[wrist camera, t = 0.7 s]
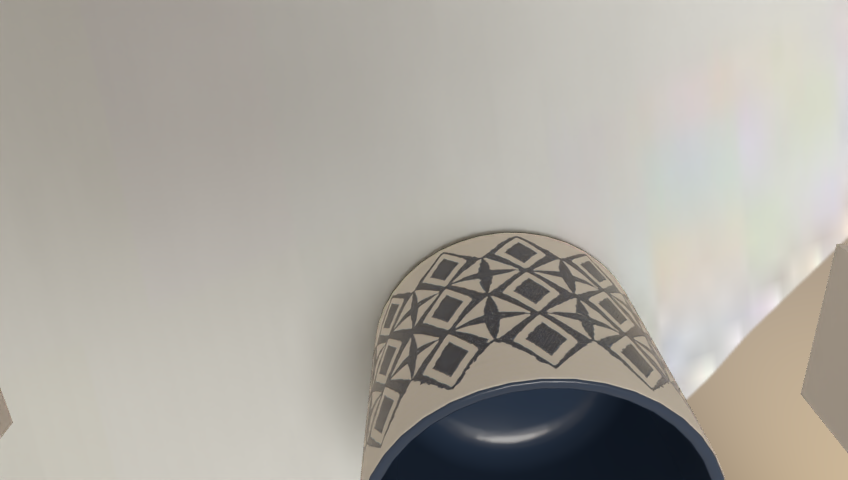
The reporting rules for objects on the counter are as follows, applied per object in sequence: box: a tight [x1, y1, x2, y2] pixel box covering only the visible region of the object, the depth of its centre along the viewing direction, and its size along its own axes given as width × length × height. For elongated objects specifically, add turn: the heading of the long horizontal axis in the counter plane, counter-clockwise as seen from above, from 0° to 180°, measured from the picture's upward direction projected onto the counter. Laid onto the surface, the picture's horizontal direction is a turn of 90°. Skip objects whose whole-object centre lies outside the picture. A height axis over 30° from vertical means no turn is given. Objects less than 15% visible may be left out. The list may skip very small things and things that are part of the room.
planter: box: [360, 233, 725, 480], centre depth 36 cm, size 16×16×14 cm
